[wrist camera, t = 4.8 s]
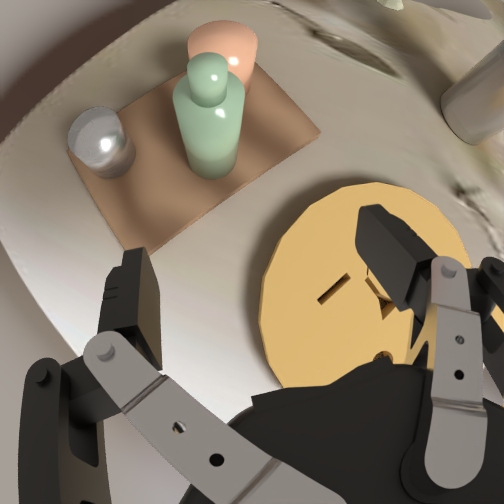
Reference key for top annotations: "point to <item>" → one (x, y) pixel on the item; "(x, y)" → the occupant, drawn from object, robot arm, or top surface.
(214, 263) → the top surface
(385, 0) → the sculpture
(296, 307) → the decorative plaque
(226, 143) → the bottle
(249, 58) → the peach rounded cylinder
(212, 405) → the top surface
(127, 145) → the tin
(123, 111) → the board
